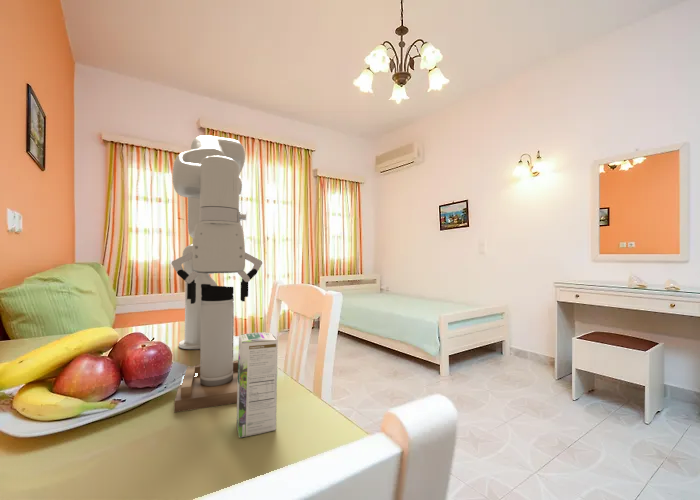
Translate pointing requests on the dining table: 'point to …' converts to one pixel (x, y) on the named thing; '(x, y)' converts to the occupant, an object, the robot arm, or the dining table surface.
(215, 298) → the travel mug
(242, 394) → the syrup box
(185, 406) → the stand
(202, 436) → the dining table surface
